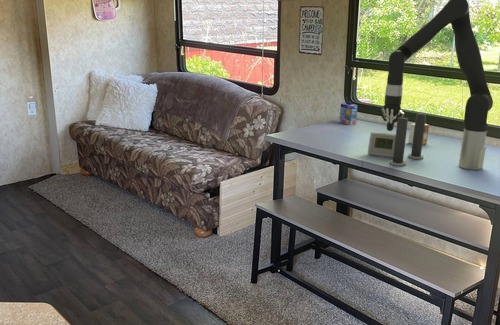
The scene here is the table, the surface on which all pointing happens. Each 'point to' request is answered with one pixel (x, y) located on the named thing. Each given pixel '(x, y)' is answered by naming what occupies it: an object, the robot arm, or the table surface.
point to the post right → (418, 137)
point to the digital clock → (381, 144)
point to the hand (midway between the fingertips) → (389, 130)
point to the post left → (400, 142)
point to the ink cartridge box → (348, 113)
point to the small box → (413, 133)
